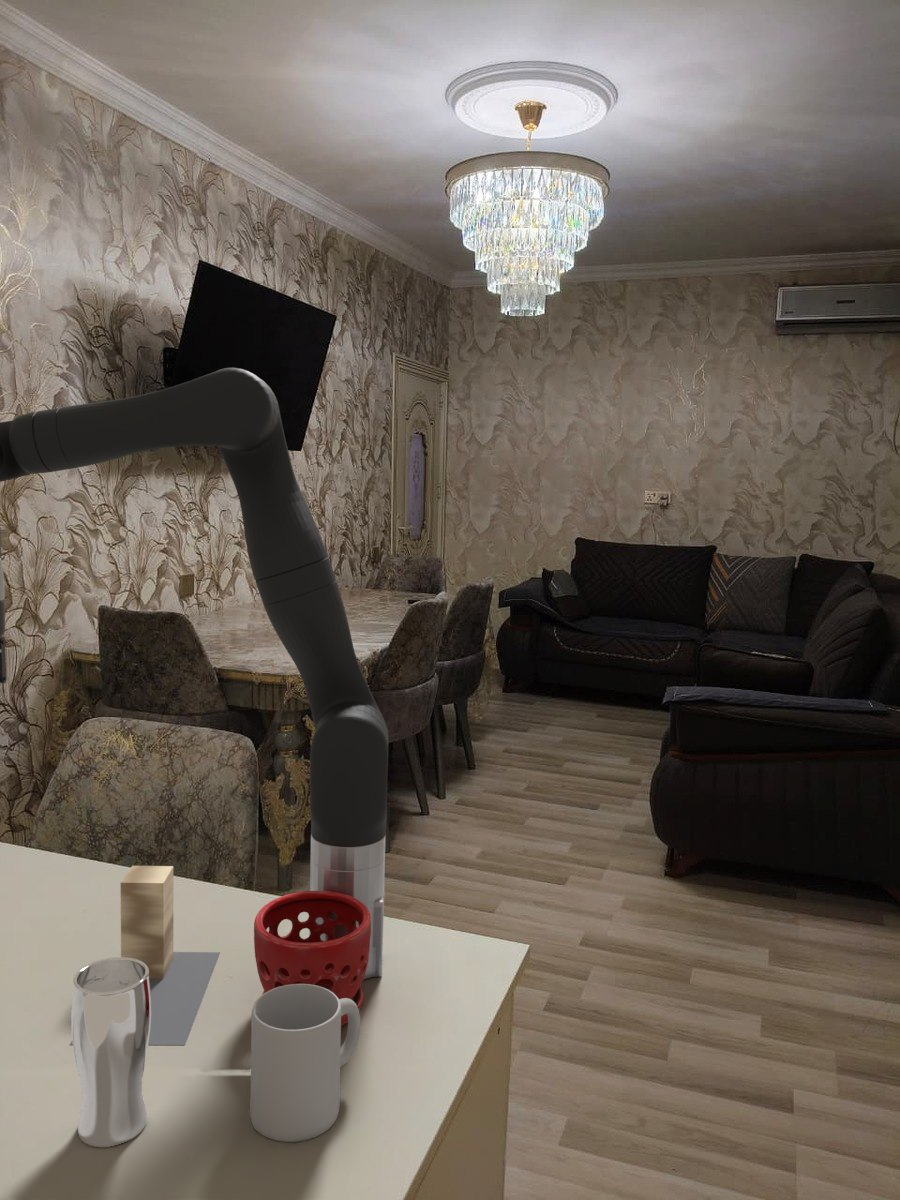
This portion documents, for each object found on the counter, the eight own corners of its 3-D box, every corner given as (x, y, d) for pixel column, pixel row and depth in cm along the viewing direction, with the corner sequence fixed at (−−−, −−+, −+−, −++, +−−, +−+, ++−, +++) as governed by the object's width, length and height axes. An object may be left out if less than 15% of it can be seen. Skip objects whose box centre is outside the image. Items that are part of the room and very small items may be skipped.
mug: (285, 1157, 86) (287, 1043, 84) (232, 1111, 91) (233, 1004, 90) (384, 1097, 94) (387, 994, 93) (329, 1060, 100) (331, 961, 99)
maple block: (173, 957, 119) (173, 865, 118) (163, 978, 114) (163, 883, 113) (133, 956, 119) (132, 865, 117) (121, 978, 114) (120, 882, 112)
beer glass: (85, 1102, 92) (83, 956, 90) (158, 1100, 93) (158, 955, 91) (62, 1152, 85) (60, 995, 83) (142, 1150, 86) (141, 994, 84)
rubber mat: (220, 956, 121) (220, 952, 121) (184, 1049, 101) (184, 1045, 101) (124, 955, 120) (124, 951, 120) (69, 1049, 100) (69, 1044, 100)
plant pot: (244, 993, 112) (245, 896, 111) (351, 976, 117) (354, 883, 116) (264, 1056, 100) (265, 949, 99) (383, 1034, 105) (386, 931, 104)
